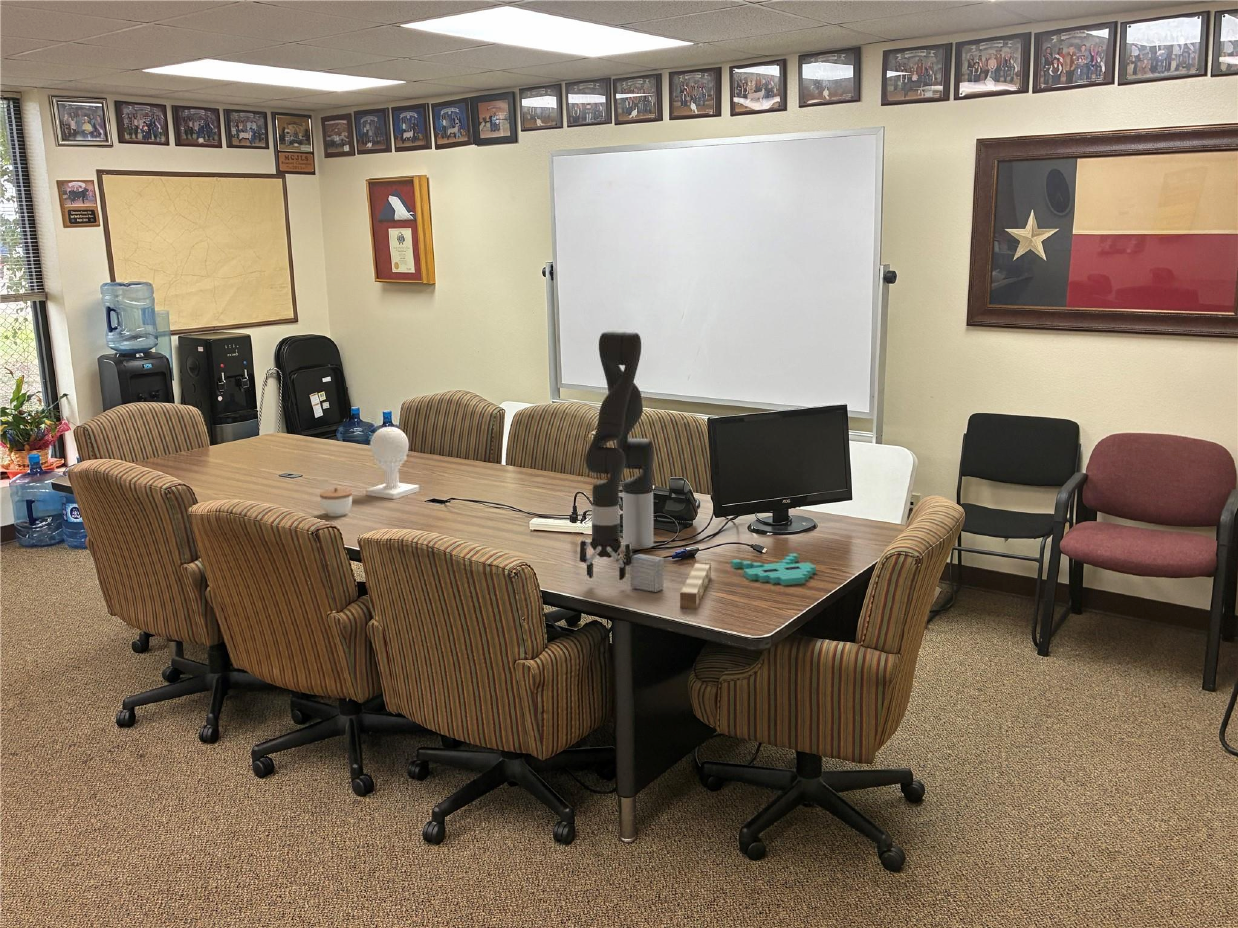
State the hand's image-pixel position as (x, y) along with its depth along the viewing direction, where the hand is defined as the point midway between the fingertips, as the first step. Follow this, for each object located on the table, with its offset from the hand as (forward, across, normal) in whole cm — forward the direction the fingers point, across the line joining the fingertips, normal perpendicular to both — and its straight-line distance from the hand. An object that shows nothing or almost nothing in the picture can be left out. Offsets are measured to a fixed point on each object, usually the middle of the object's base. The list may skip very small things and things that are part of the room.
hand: (606, 578), depth 283 cm
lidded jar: (+3, +110, -52) cm, 122 cm away
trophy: (+2, +104, -84) cm, 134 cm away
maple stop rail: (+2, -25, -1) cm, 25 cm away
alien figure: (+2, -44, -21) cm, 49 cm away
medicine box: (+2, -11, 0) cm, 12 cm away
